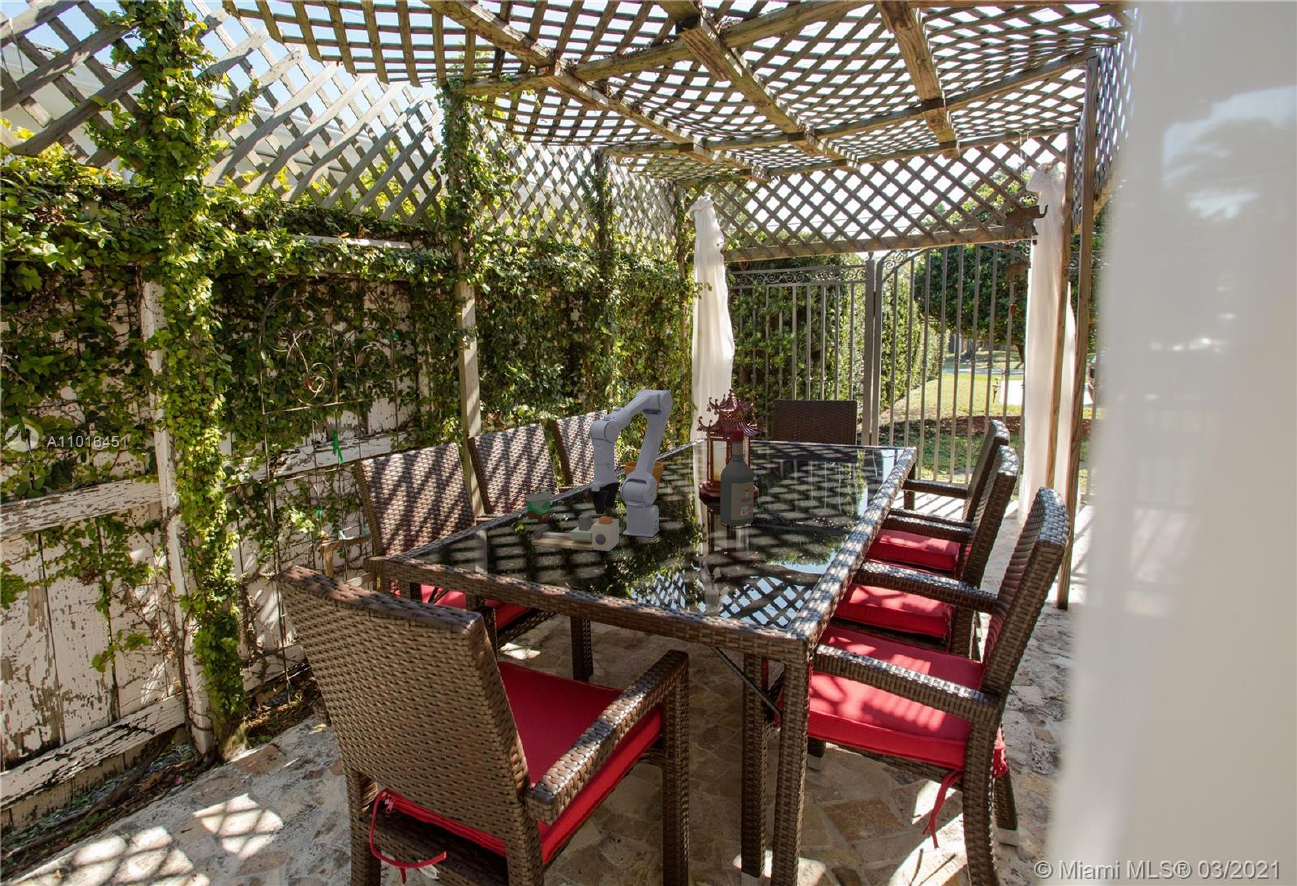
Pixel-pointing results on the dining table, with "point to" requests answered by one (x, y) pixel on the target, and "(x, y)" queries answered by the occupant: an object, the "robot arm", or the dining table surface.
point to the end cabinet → (605, 535)
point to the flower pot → (656, 473)
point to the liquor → (736, 486)
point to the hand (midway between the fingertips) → (605, 510)
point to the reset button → (605, 520)
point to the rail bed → (558, 539)
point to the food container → (538, 505)
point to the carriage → (583, 529)
